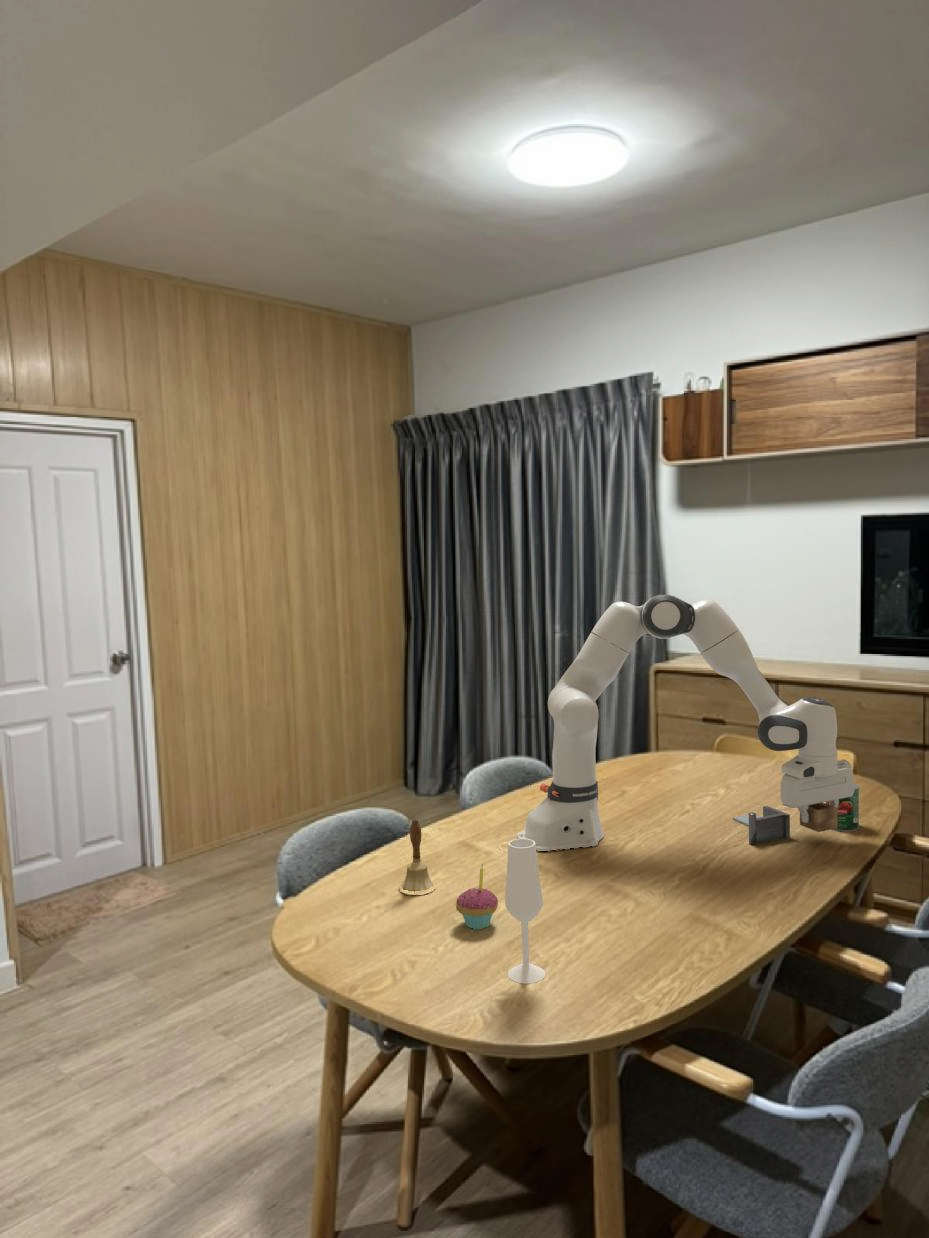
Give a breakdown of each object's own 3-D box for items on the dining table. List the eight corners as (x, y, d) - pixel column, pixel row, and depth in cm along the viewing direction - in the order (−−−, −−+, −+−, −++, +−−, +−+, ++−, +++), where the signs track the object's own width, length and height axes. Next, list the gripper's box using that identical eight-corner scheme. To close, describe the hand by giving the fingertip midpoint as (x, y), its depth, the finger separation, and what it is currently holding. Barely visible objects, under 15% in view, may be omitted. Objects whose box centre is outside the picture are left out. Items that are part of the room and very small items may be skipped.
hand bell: (443, 884, 193) (440, 816, 192) (423, 898, 186) (419, 827, 185) (412, 878, 198) (409, 811, 196) (392, 892, 190) (388, 822, 189)
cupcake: (475, 911, 179) (472, 856, 177) (507, 922, 173) (505, 864, 172) (448, 927, 172) (445, 869, 171) (481, 938, 167) (479, 878, 165)
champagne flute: (524, 987, 148) (519, 852, 145) (500, 972, 153) (495, 842, 151) (553, 974, 151) (548, 843, 149) (528, 960, 157) (524, 833, 155)
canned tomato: (827, 830, 218) (827, 788, 217) (824, 820, 225) (823, 779, 224) (861, 832, 215) (861, 790, 214) (856, 822, 223) (856, 781, 222)
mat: (750, 827, 222) (750, 825, 222) (732, 819, 229) (732, 817, 229) (771, 823, 225) (771, 820, 225) (753, 815, 231) (753, 813, 231)
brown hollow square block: (818, 831, 205) (818, 811, 205) (799, 824, 211) (799, 805, 210) (837, 827, 207) (837, 807, 207) (818, 820, 213) (818, 801, 212)
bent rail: (753, 845, 209) (752, 815, 209) (730, 835, 217) (730, 806, 216) (789, 837, 214) (789, 808, 213) (766, 828, 221) (766, 799, 220)
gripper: (840, 755, 214) (840, 808, 216) (775, 766, 207) (776, 822, 208) (860, 760, 208) (860, 815, 210) (794, 773, 201) (795, 830, 202)
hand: (818, 819), depth 209 cm, fingers closed on brown hollow square block, 6 cm apart
